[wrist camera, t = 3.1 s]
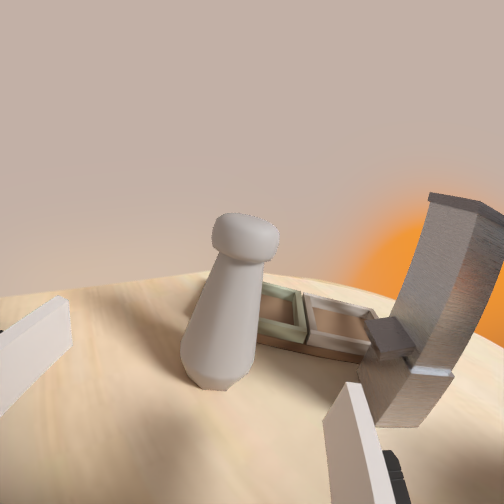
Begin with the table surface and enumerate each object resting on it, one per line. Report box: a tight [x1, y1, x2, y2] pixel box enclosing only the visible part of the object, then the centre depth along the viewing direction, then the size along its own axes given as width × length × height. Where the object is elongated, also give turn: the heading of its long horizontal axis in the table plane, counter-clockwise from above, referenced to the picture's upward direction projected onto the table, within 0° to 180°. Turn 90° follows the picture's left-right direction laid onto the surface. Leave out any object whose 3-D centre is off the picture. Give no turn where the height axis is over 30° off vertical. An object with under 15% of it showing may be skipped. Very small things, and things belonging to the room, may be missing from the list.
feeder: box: [356, 192, 504, 427], centre depth 19 cm, size 8×8×19 cm
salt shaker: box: [180, 213, 280, 391], centre depth 20 cm, size 6×6×13 cm
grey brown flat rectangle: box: [256, 282, 379, 364], centre depth 32 cm, size 22×11×2 cm, turn 84°
